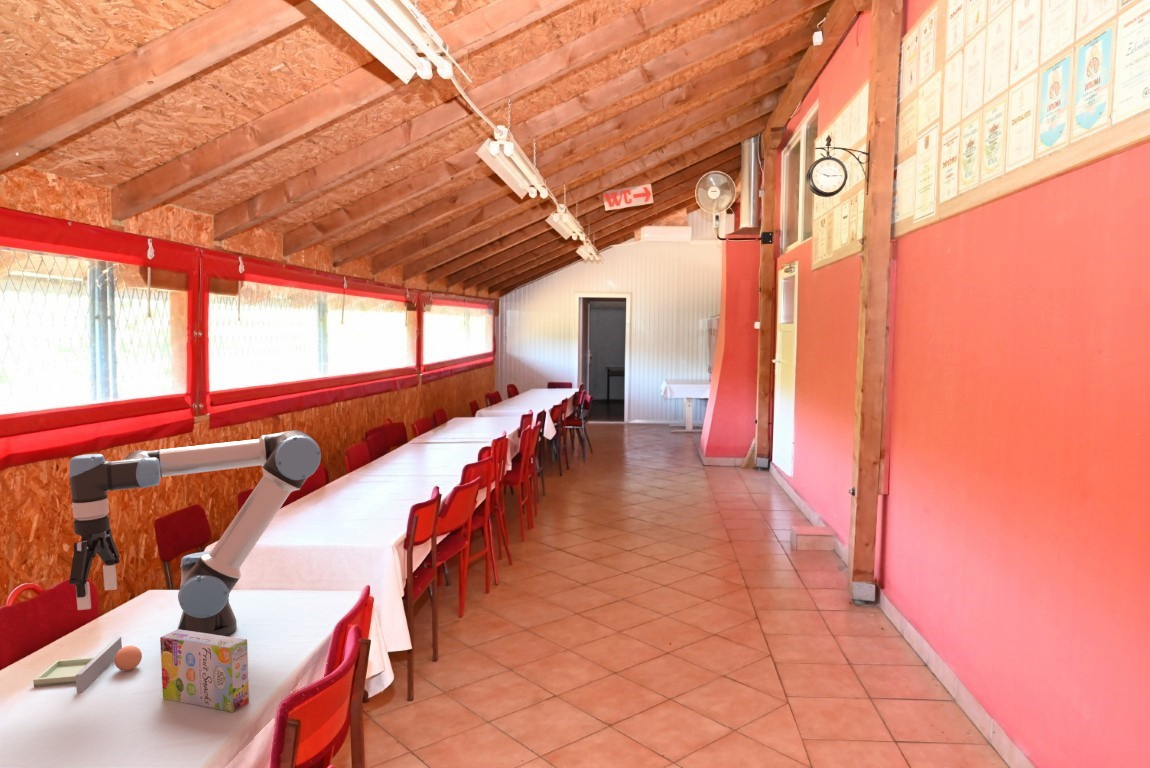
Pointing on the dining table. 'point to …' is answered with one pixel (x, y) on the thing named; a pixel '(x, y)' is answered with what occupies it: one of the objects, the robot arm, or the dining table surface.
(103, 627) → the dining table surface
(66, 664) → the tray
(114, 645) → the divider wall
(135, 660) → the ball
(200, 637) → the snack box
